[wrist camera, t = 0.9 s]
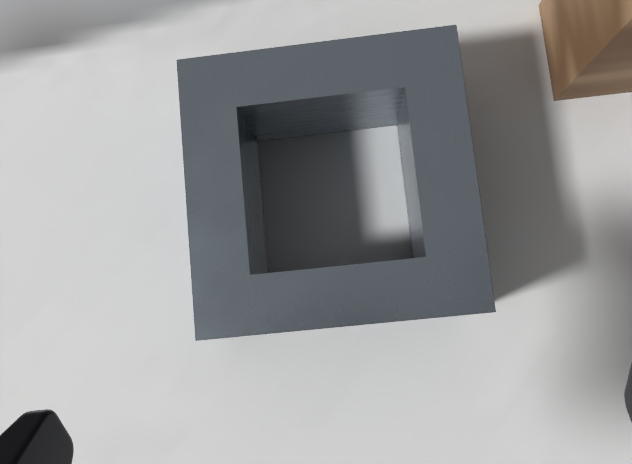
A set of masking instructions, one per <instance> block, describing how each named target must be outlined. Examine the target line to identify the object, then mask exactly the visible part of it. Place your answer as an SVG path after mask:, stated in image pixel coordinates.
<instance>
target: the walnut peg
mask: <svg viewBox="0 0 632 464" xmlns="http://www.w3.org/2000/svg"><path fill="white" fill-rule="evenodd" d="M539 9H540V15H541V21H542V27H543V34H544V40H545V46H546V53H547V59H548V65H549V71H550V78H551V84H552V90H553V97H554V101H557V100H565V99H574V98H582V97H591V96H599V95H608V94H617V93H625V92H632V0H542V1H541V2H540V4H539Z"/></svg>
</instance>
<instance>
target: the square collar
mask: <svg viewBox="0 0 632 464" xmlns="http://www.w3.org/2000/svg"><path fill="white" fill-rule="evenodd" d="M177 71H178V86H179V101H180V115H181V130H182V145H183V160H184V175H185V190H186V205H187V220H188V234H189V249H190V264H191V279H192V294H193V309H194V324H195V338H196V341H197V340H207V339H218V338H228V337H239V336H249V335H260V334H270V333H281V332H291V331H301V330H312V329H322V328H333V327H343V326H354V325H364V324H375V323H385V322H395V321H406V320H416V319H427V318H437V317H448V316H458V315H469V314H479V313H489V312H496V310H495V303H494V295H493V288H492V281H491V274H490V266H489V259H488V252H487V245H486V237H485V230H484V223H483V215H482V208H481V201H480V194H479V186H478V179H477V172H476V165H475V157H474V150H473V143H472V135H471V128H470V121H469V114H468V106H467V99H466V92H465V85H464V77H463V70H462V63H461V55H460V48H459V41H458V34H457V26H456V25H451V26H443V27H435V28H427V29H419V30H411V31H403V32H395V33H387V34H379V35H371V36H363V37H355V38H347V39H339V40H331V41H323V42H315V43H308V44H300V45H292V46H284V47H276V48H268V49H260V50H252V51H244V52H236V53H228V54H220V55H212V56H204V57H196V58H188V59H180V60H177ZM392 125H397V127H398V136H399V144H400V152H401V161H402V169H403V177H404V186H405V194H406V202H407V211H408V219H409V227H410V236H411V244H412V253H413V258H410V259H400V260H390V261H381V262H371V263H361V264H351V265H341V266H332V267H322V268H312V269H302V270H292V271H283V272H273V273H268V261H267V250H266V238H265V226H264V215H263V203H262V191H261V179H260V168H259V156H258V144H257V141H263V140H271V139H280V138H289V137H297V136H306V135H314V134H323V133H332V132H340V131H349V130H358V129H366V128H375V127H383V126H392Z"/></svg>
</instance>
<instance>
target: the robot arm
mask: <svg viewBox="0 0 632 464" xmlns="http://www.w3.org/2000/svg"><path fill="white" fill-rule="evenodd" d="M624 398H625V404H626V408H627V411H628V414H629V416H630V419H631V422H632V364H631V368H630V372H629V376H628V380H627V384H626V388H625V393H624ZM72 458H73V442H72V439H71V437H70V436H69V434H68V432H67V431H66V429H65V427H64V426H63V424H62V423H61V421H60V419H59V418H58V416H57V414H56V413H55V412H54V411H52V410H37V411H29V412H26V413H24V414H23V415H22V416H20V417H19V418H18V419H17V420H16V421H15V422H14V423H13V424H12V425H11V426H10V427H9V428H8V429H7V430H5V431H4V432H3V433H2V434H1V435H0V464H72Z"/></svg>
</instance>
